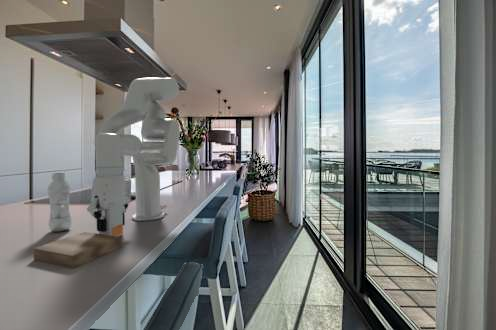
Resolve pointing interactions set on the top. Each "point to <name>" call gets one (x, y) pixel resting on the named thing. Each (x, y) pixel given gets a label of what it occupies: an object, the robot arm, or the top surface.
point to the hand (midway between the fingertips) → (111, 227)
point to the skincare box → (113, 220)
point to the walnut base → (77, 249)
